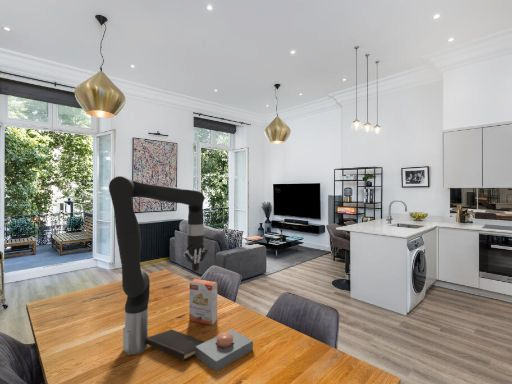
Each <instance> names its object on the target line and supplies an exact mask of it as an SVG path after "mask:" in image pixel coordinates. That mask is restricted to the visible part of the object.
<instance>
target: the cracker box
mask: <svg viewBox="0 0 512 384" xmlns="http://www.w3.org/2000/svg"><path fill="white" fill-rule="evenodd" d="M188 303H189V304H188V305H189V307H188V308H189V310H188V312H189V315H188V317H189V318H188V319H189V321H191V322H197V323H200V324H204V325H208V326H213V325H214V324H215V323H216V322H217V321H218V282H217V281H212V280H205V279H198V278H194V279H193V280H190V281H189V302H188Z"/></svg>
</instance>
